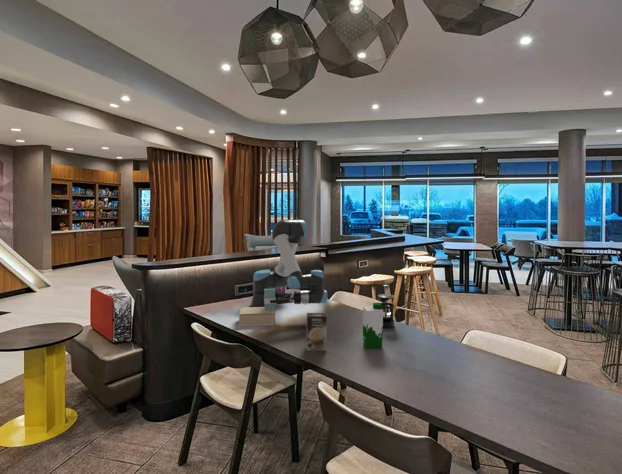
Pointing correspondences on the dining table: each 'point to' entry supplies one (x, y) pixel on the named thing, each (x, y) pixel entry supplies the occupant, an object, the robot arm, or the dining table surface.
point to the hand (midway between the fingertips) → (264, 298)
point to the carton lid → (261, 310)
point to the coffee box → (316, 331)
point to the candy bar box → (280, 289)
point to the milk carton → (373, 326)
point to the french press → (388, 319)
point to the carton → (256, 319)
